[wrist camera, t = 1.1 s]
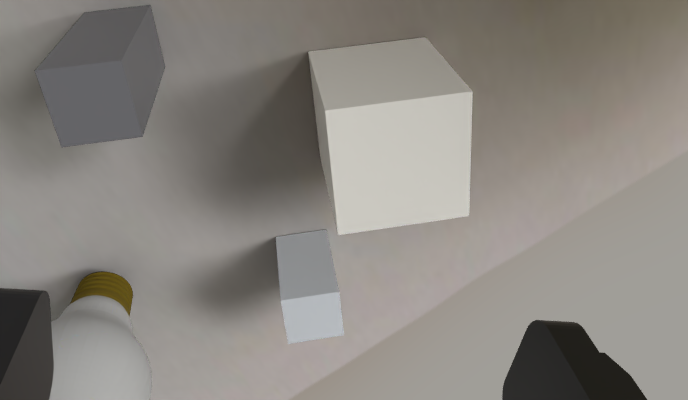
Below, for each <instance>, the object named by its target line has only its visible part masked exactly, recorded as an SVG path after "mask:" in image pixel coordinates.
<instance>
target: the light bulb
mask: <svg viewBox="0 0 688 400" xmlns="http://www.w3.org/2000/svg"><path fill="white" fill-rule="evenodd" d="M132 298H133V291H132V288H131V286H130V284H129V283H128V282H127V281H126V280H125V279H124V278H123V277H121V276H119V275H117V274H114V273H110V272H96V273H92V274H90V275H88V276H86V277H85V278H84V279H82V281H81V282H80V283H79V285H78V288H77V289H76V292H75V294H74V297H73V298H72V301H71V303H70V305H69V306H68V307H67V308H66V309H65V310H64V311H63V312H62V314H61V315H60V317H59V318H58V319H56V320H53V321H51V328H52V343H53V359H54V372H53V382H52V388H51V393H50V398H49V400H150V397H151V390H152V374H151V367H150V364H149V360H148V357H147V355H146V353H145V351H144V349H143V347H142V345H141V344H140V343H139V341H138V340H137V339H136V338H135V337H134V335H133V329H132V323H131V320H130V311H131V304H132Z"/></svg>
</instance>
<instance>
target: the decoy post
mask: <svg viewBox="0 0 688 400" xmlns="http://www.w3.org/2000/svg"><path fill="white" fill-rule="evenodd" d="M276 248H277V260H278V273H279V286H280V299H281V305H282V311H283V317H284V323H285V328H286V334H287V340H288V344H291V343H297V342H304V341H310V340H316V339H322V338H329V337H335V336H341V335H344V330H343V321H342V312H341V303H340V294H339V288H338V283H337V278H336V274H335V269H334V264H333V259H332V254H331V249H330V244H329V240H328V235H327V230H320V231H313V232H306V233H299V234H293V235H286V236H279V237H276Z"/></svg>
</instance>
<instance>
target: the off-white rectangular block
mask: <svg viewBox="0 0 688 400" xmlns="http://www.w3.org/2000/svg"><path fill="white" fill-rule="evenodd" d="M308 55H309V64H310V73H311V82H312V90H313V99H314V108H315V117H316V125H317V134H318V143H319V152H320V159H321V163H322V168H323V172H324V176H325V181H326V185H327V189H328V194H329V198H330V202H331V207H332V211H333V215H334V220H335V224H336V228H337V233H338V235H343V234H350V233H357V232H364V231H371V230H377V229H384V228H391V227H398V226H405V225H412V224H418V223H425V222H432V221H439V220H446V219H453V218H459V217H466V216H469V204H470V168H471V132H472V96H473V91H472V90H471V89H470V88H469V87H468V85H467V84H466V83H465V82H464V81H463V80H462V78H461V77H460V76H459V75H458V74H457V73H456V72H455V70H454V69H453V68H452V67H451V66H450V65H449V63H448V62H447V61H446V60H445V59H444V58H443V57H442V55H441V54H440V53H439V52H438V51H437V50H436V48H435V47H434V46H433V45H432V44H431V43H430V42H429V40H428V39H427V38H426V37H423V38H414V39H406V40H398V41H390V42H382V43H374V44H366V45H358V46H350V47H342V48H334V49H325V50H317V51H309V52H308Z"/></svg>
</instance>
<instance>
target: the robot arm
mask: <svg viewBox="0 0 688 400" xmlns="http://www.w3.org/2000/svg"><path fill="white" fill-rule="evenodd" d="M53 372H54V359H53V343H52V328H51V312H50V299H49V295H48V293H47V291H39V290H21V289H4V288H0V400H49V398H50V393H51V388H52V382H53ZM503 400H647V399H646V397H645V396H644V395H643V393H642V392H641V390H640V389H639V387H638V386H637V384H636V383H635V381H634V380H633V379H632V377H631V376H630V375H629V374H628V373H627V372H626V371H625V370H624V369H623V368H621V367H620V366H619V365H618V364H617V363H616V362H614V361H613V360H612V359H611V358H610V357H609V356H608V355H606V354H605V353H599V351H598V350H597V348H596V347H595V345H594V344H593V342H592V341H591V339H590V338H589V336H588V335H587V333H586V332H585V330H584V329H583V327H582V326H580V325H579V324H578V323H574V322H561V321H543V320H535V321H533V322H532V323H531V324H530V325H529V326H528V328H527V330H526V332H525V334H524V337H523V339H522V342H521V344H520V346H519V348H518V351H517V353H516V356H515V358H514V360H513V363H512V365H511V367H510V370H509V372H508V374H507V377H506V379H505V382H504V386H503Z"/></svg>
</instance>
